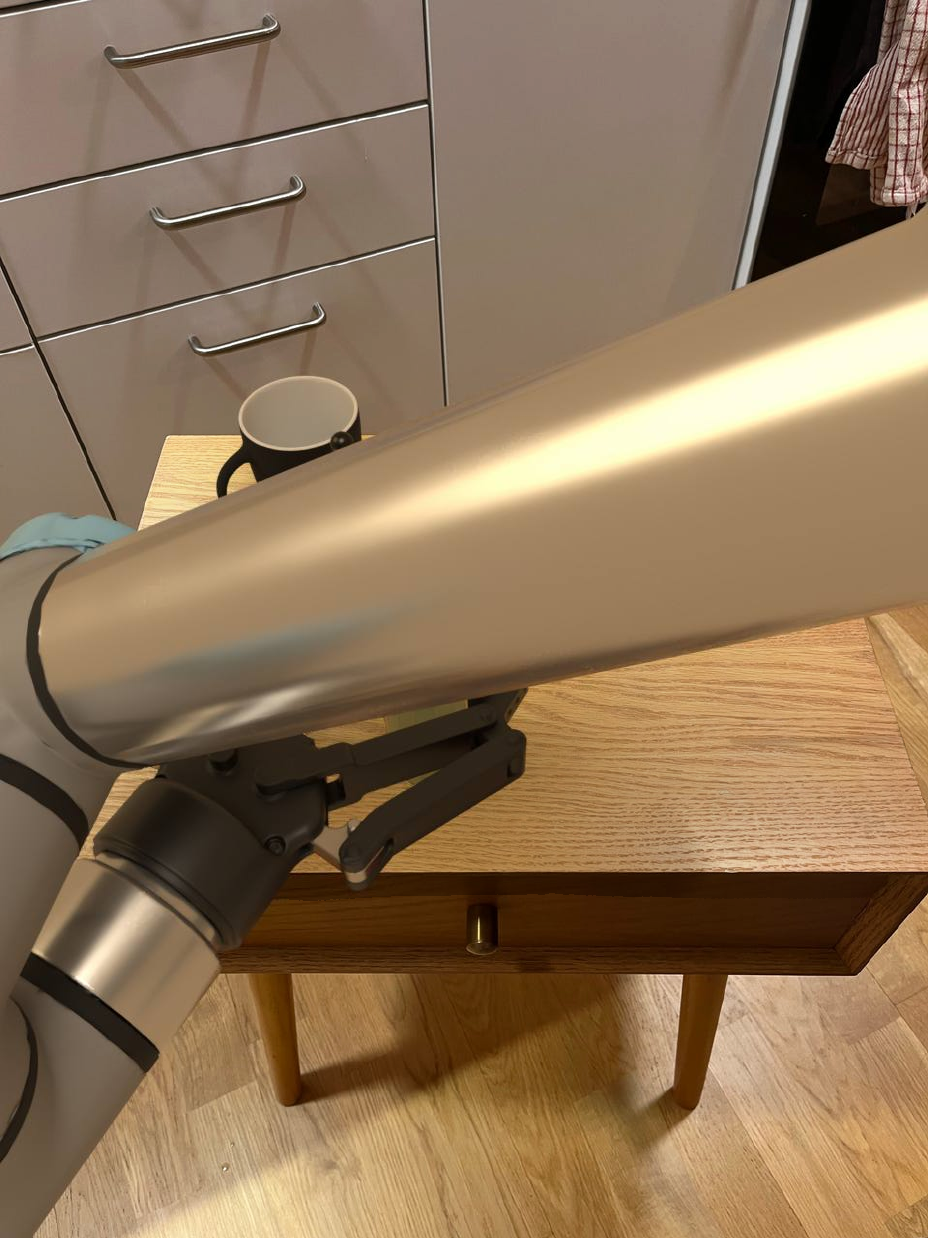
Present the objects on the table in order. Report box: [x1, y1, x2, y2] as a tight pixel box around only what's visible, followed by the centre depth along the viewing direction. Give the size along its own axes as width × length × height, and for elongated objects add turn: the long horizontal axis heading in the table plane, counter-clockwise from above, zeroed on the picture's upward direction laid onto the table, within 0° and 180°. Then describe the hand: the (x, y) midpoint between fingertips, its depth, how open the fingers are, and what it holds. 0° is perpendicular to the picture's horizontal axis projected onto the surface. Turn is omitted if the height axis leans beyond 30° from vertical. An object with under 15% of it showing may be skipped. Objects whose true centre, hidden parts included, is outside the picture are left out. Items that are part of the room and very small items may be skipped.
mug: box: [215, 375, 363, 499], centre depth 75 cm, size 12×9×10 cm
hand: (421, 571), depth 51 cm, fingers open, 13 cm apart
